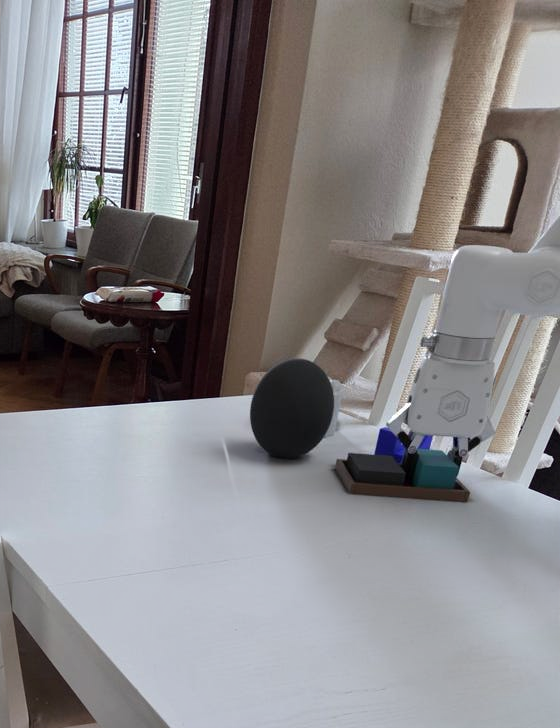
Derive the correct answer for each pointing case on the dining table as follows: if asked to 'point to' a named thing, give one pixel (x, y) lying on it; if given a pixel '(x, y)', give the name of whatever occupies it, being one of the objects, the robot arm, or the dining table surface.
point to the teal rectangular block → (434, 470)
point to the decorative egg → (292, 408)
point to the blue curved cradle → (396, 445)
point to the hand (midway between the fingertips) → (427, 478)
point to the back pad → (375, 469)
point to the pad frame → (401, 488)
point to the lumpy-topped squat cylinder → (335, 405)
